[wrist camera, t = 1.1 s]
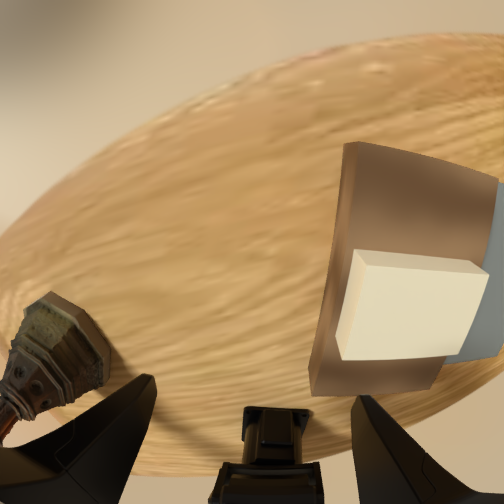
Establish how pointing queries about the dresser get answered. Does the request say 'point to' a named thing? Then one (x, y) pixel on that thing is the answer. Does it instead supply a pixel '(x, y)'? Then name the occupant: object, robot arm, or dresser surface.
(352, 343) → the tile
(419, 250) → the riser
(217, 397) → the dresser surface
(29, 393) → the dark bronze flared piece
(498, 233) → the mat
